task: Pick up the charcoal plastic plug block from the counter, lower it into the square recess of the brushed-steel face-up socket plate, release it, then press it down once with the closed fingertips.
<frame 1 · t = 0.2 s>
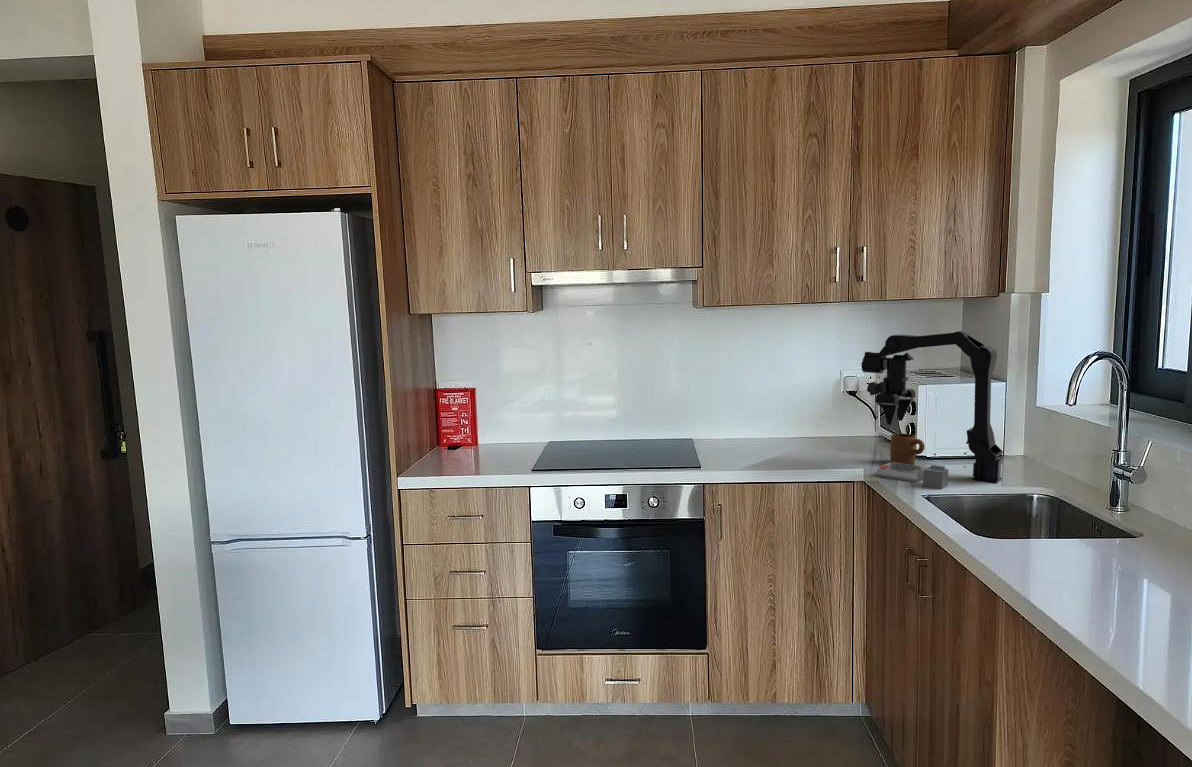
hand: (894, 422, 238), 14 cm above the table, fingers open, 9 cm apart
mug: (907, 465, 242), on the table
plug: (935, 486, 215), on the table
socket plate: (903, 475, 228), on the table
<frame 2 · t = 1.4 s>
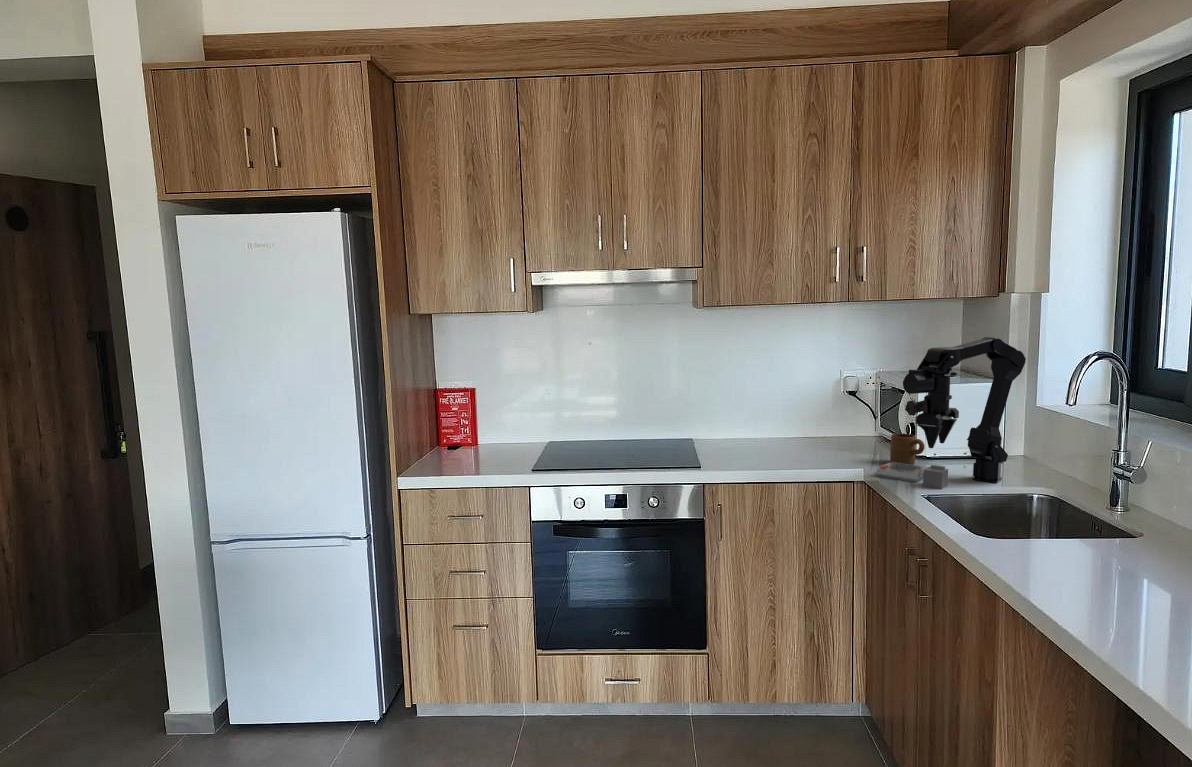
hand: (936, 445, 214), 12 cm above the table, fingers open, 9 cm apart
nothing on the table moved.
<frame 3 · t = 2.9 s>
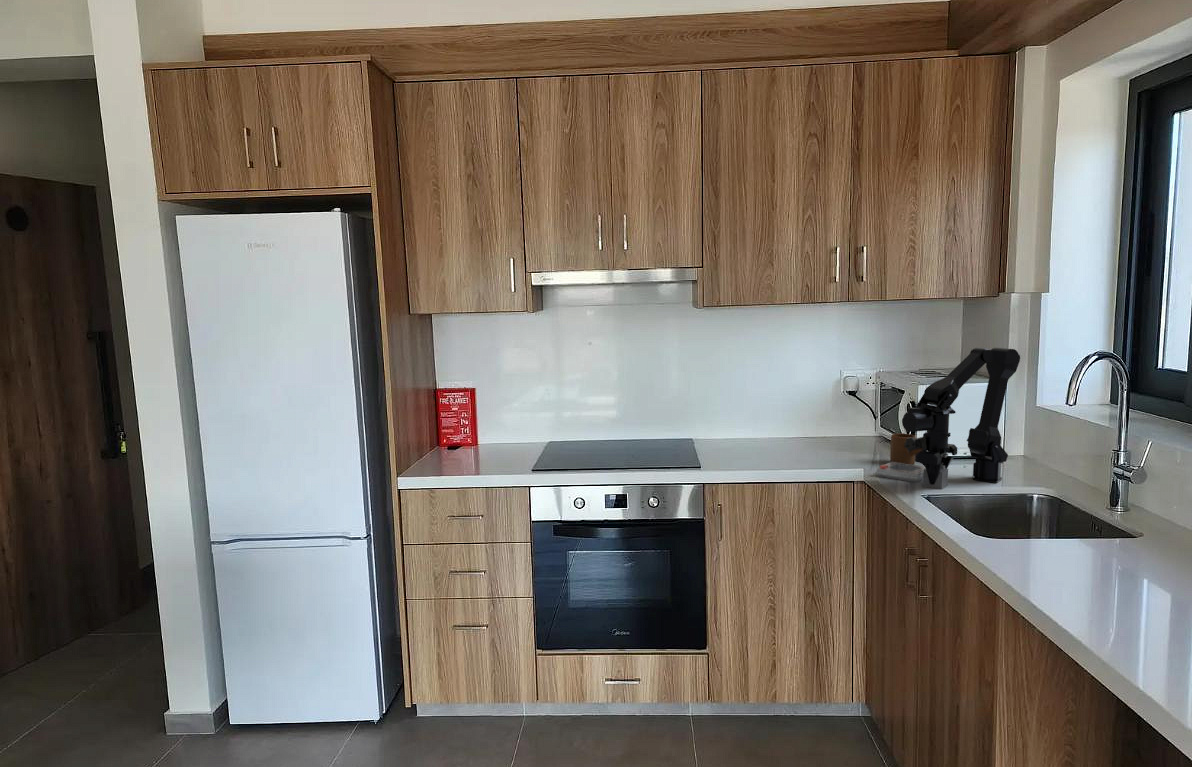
hand: (935, 482, 215), 1 cm above the table, fingers closed on plug, 5 cm apart
plug: (935, 486, 215), on the table, touching gripper
everything else where it was.
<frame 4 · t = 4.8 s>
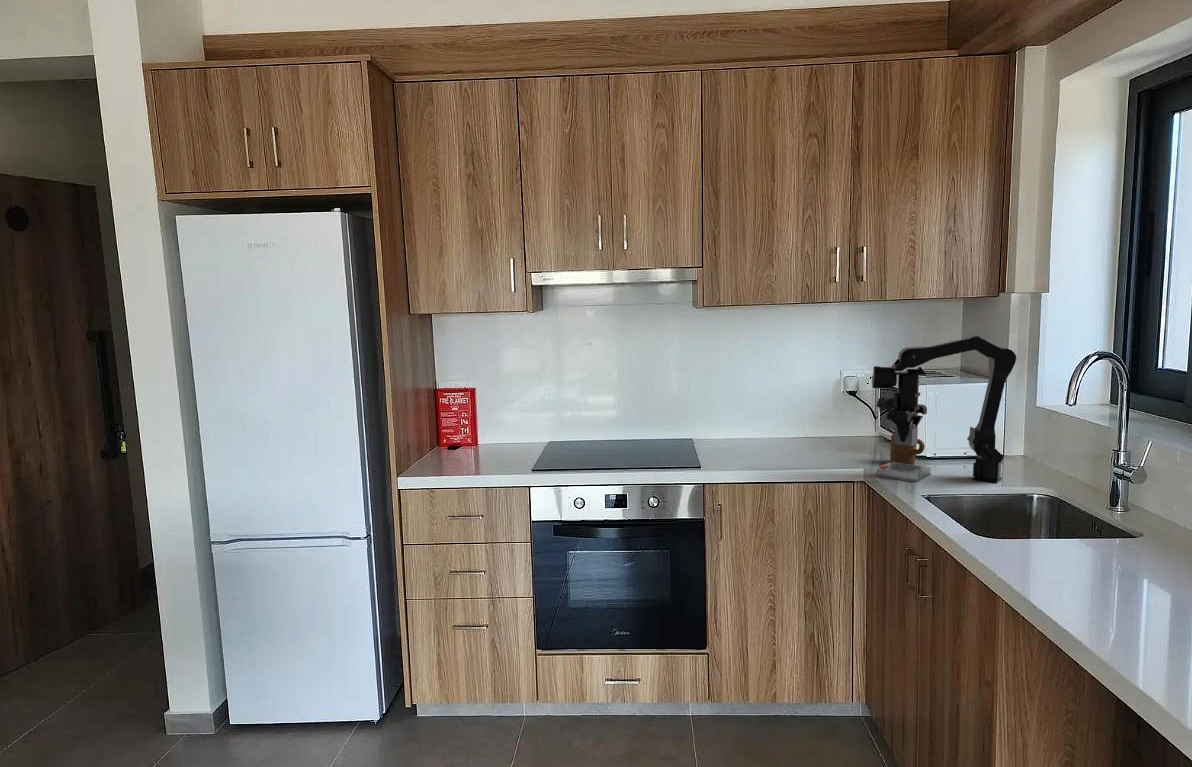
hand: (905, 440, 226), 11 cm above the table, fingers closed on plug, 5 cm apart
plug: (905, 443, 226), point 10 cm above the table, touching gripper
everything else where it was.
when the fingers open (3 cm above the table, at t = 6.7 s): plug drops 1 cm, resting on socket plate.
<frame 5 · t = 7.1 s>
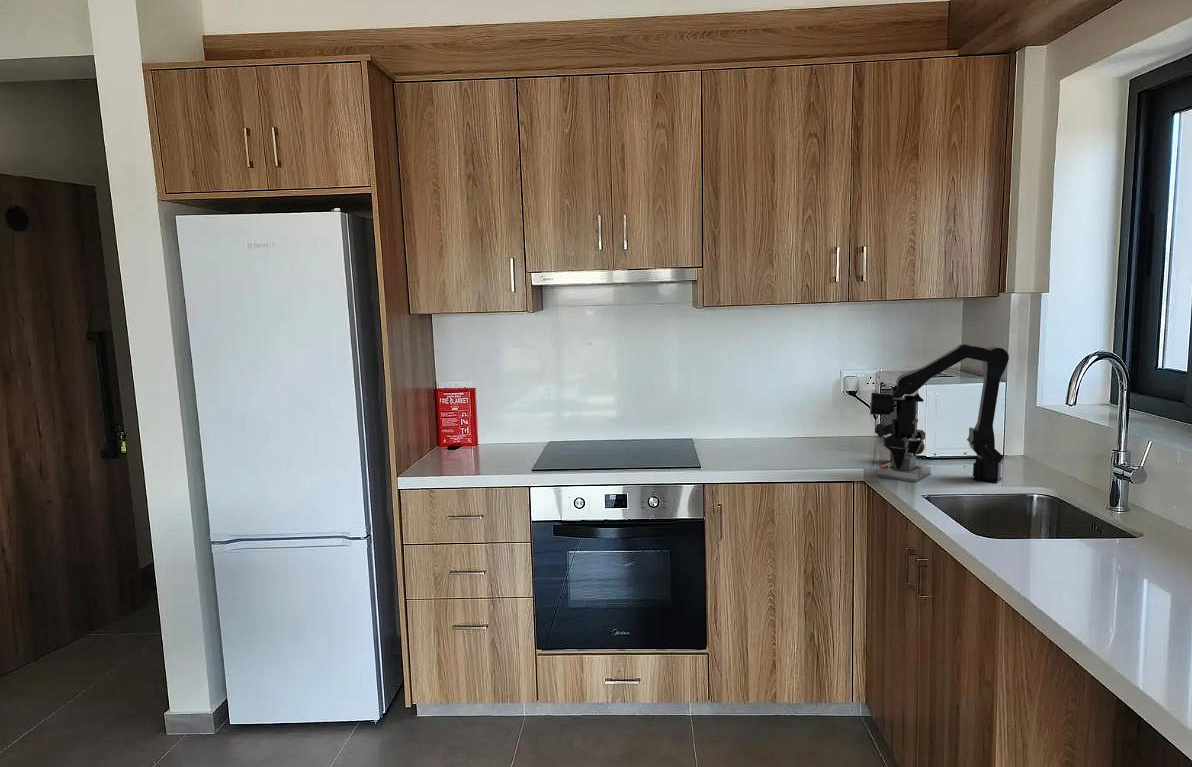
hand: (904, 465, 228), 3 cm above the table, fingers open, 9 cm apart
plug: (903, 472, 228), point 1 cm above the table, touching socket plate
everything else where it was.
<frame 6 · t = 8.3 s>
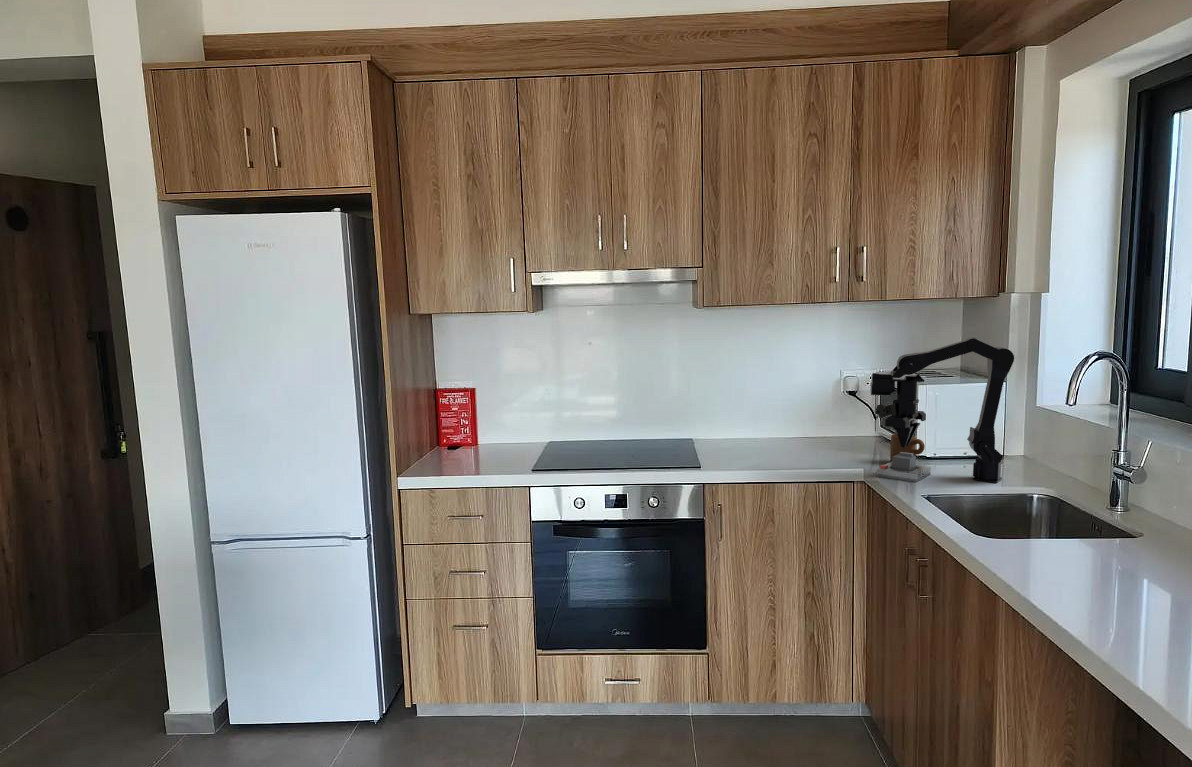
hand: (904, 446, 227), 9 cm above the table, fingers closed
nothing on the table moved.
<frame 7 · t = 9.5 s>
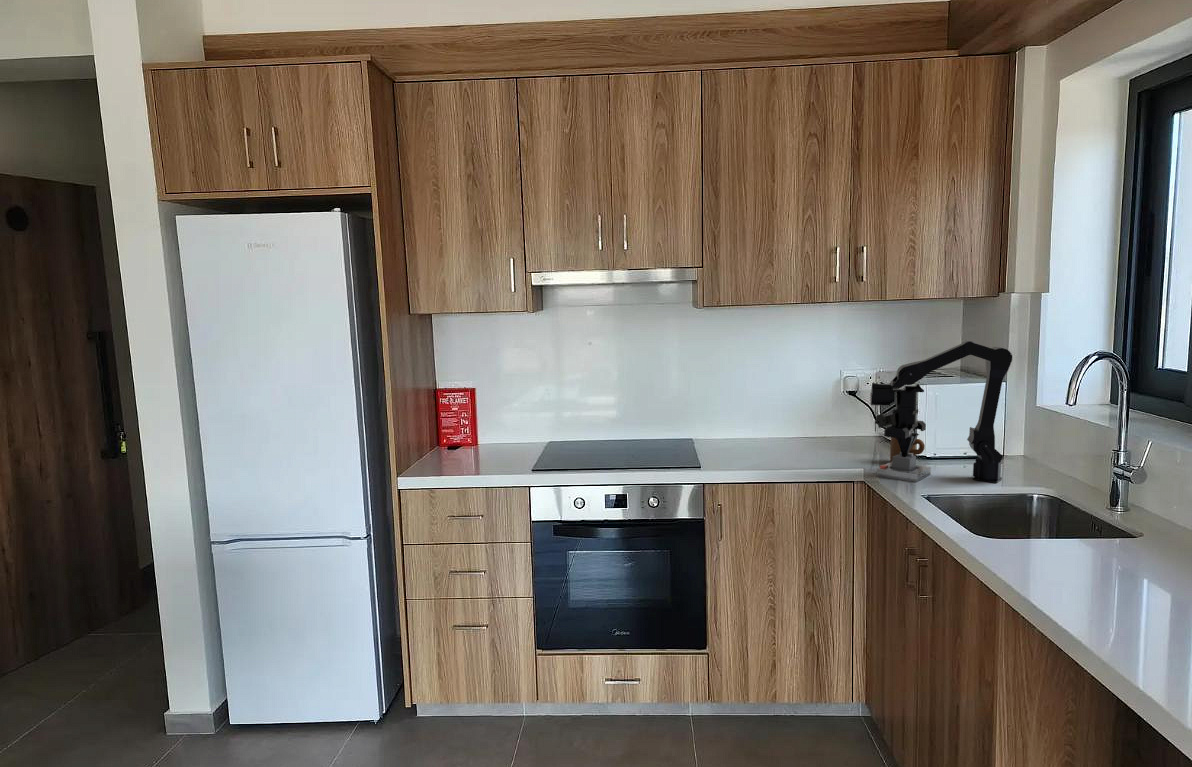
hand: (904, 456, 227), 6 cm above the table, fingers closed, pressing on plug
plug: (903, 472, 228), point 1 cm above the table, touching gripper, socket plate
everything else where it was.
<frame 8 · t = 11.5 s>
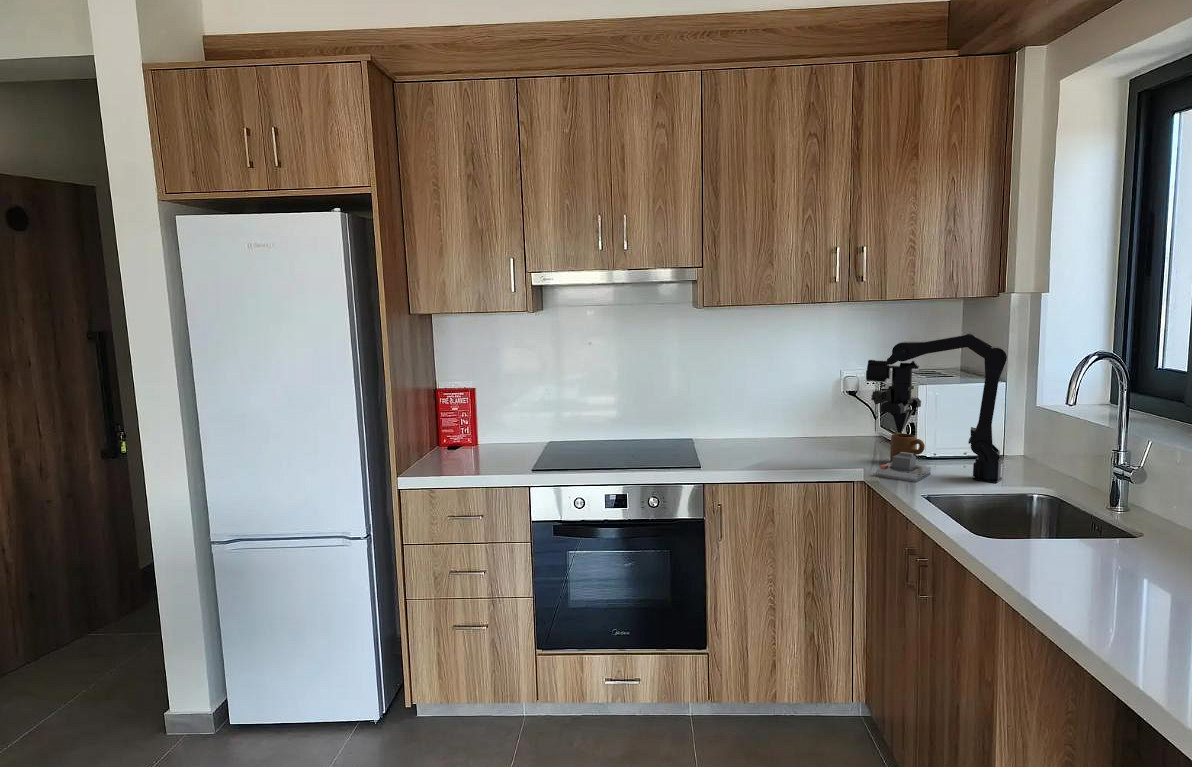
hand: (899, 432, 231), 12 cm above the table, fingers closed
plug: (903, 472, 228), point 1 cm above the table, touching socket plate
everything else where it was.
at the end: plug 0.0 cm off-centre on the socket plate, point 0.9 cm above the socket plate's base; plug tilted 0°; the gripper is holding nothing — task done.
